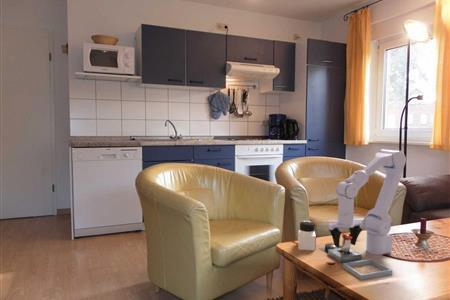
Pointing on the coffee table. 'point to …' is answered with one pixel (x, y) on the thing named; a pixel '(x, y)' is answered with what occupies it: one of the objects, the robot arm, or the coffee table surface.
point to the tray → (368, 275)
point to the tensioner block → (336, 254)
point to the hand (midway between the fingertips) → (344, 245)
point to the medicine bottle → (306, 236)
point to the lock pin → (346, 243)
